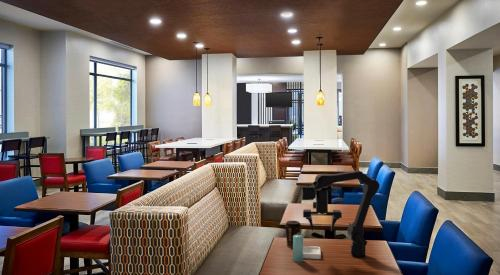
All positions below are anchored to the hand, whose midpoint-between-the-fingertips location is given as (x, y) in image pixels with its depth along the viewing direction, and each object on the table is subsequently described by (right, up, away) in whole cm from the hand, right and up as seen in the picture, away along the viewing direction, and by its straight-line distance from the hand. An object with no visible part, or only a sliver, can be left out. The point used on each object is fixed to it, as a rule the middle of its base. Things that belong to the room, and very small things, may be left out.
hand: (322, 230), depth 200 cm
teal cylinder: (-13, -13, -6) cm, 19 cm away
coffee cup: (-13, -12, +16) cm, 24 cm away
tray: (-6, -13, +3) cm, 14 cm away
